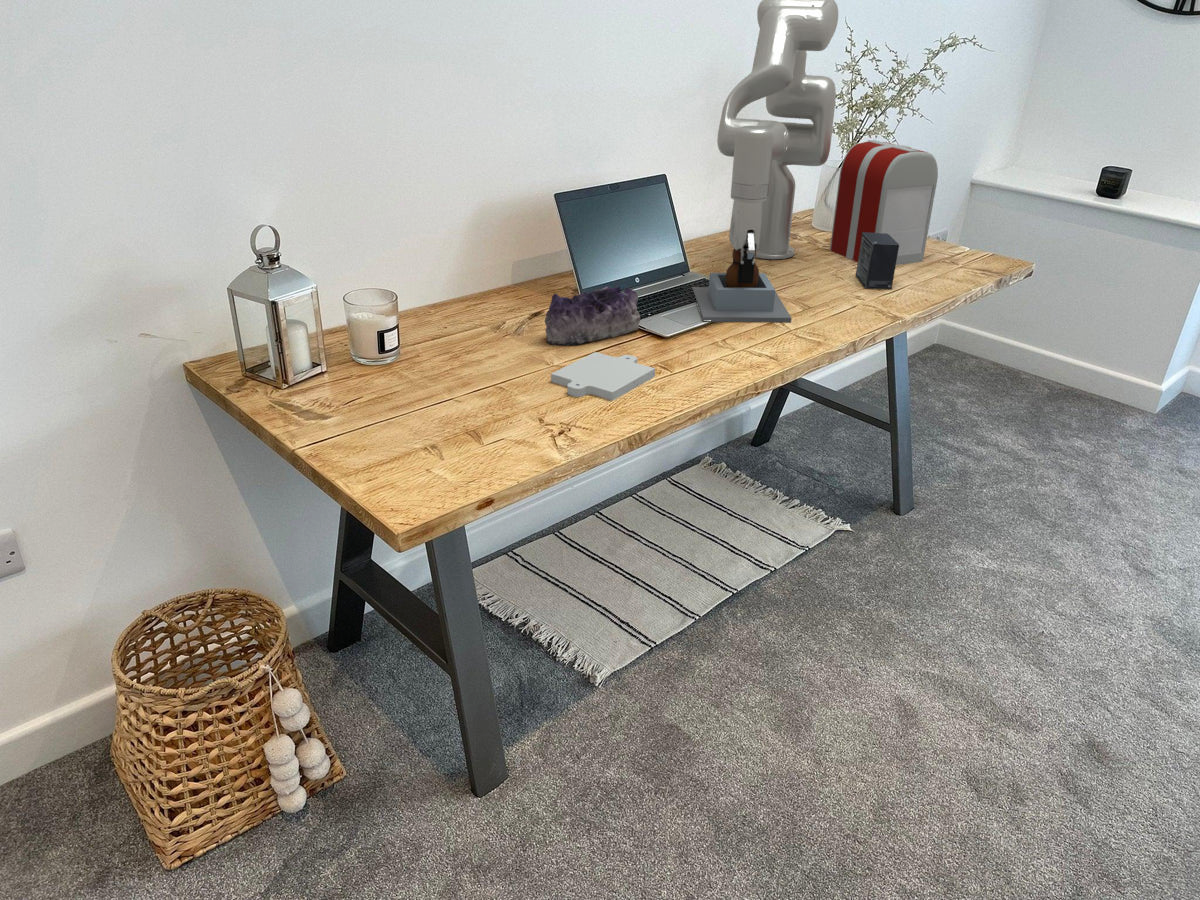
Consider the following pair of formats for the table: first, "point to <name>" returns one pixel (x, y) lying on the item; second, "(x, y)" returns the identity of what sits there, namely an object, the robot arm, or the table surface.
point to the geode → (591, 316)
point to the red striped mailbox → (884, 198)
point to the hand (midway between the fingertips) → (742, 276)
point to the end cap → (740, 302)
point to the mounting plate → (603, 375)
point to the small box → (877, 260)
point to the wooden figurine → (733, 273)
